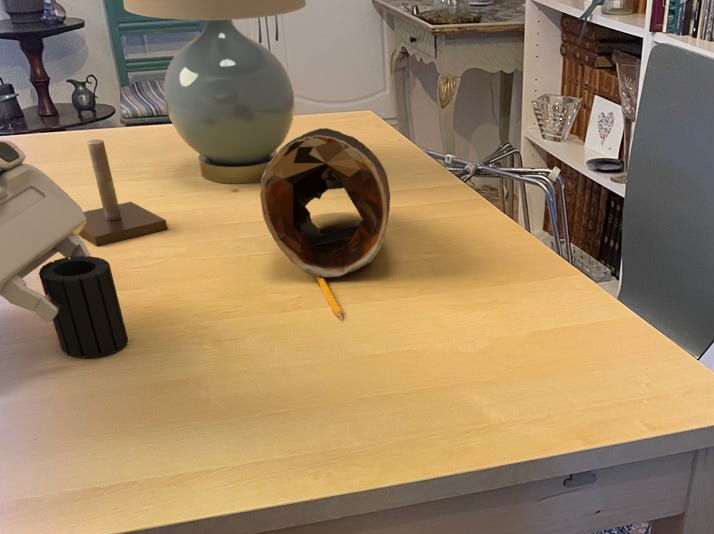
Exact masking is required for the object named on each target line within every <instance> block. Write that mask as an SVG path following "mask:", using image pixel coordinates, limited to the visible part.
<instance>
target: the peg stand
mask: <svg viewBox="0 0 714 534" xmlns="http://www.w3.org/2000/svg"><path fill="white" fill-rule="evenodd" d="M86 144H87V148H88V152H89V156H90V160H91V164H92V168H93V174H94V177H95V182H96V185H97V189H98V193H99V198H100V201H101V205H102V207H101V208H96V209H90V210H87V211H83V213H84V215H85V217H86V220H87V222H86V224H85V226H84V227H83V229H82V230H81V232H80V233H79V234H78V236H80V237H81V238H83V239H85V240H86V241H89V243H91V244H93V245H94V246H96V247H100V246H104V245H108V244H112V243H115V242H120V241H125V240H129V239H133V238H137V237H141V236H145V235H149V234H153V233H158V232H162V231H165V230H168V224H167V219H165V218H163V217H161V216H159V215H157V214H155V213H153V212H152V211H150V210H148V209H146V208H144V207H142V206H140V205H138V204H136V203H134V202H133V201H126V202H123V203H119V201H118V198H117V192H116V189H115V184H114V180H113V176H112V172H111V166H110V163H109V158H108V154H107V150H106V145H105V141H104V140H103V139H99V138H98V139H89V140H88V141H87V142H86Z"/></svg>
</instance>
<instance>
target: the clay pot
mask: <svg viewBox="0 0 714 534" xmlns="http://www.w3.org/2000/svg"><path fill="white" fill-rule="evenodd" d="M389 184H390V183H389V179H388V174H387V172H386V170H385V168H384V166H383V164H382V163H381V161H380V160H379V158H378V157H377V155H376V154H374V153H373V151H372V150H371V149H370V148H369V147H368V146H366V145H365V144H364V143H363V142H362V141H359V140H358V139H357V138H356V137H354V136H352V135H348V134H344V133H343V132H341V131H339V130H336V129H335V130H334V129H331V128H327V127H325V128H317V129H314V130H311V131H308V132H306V133H304V134H302V135H300V136H298V137H296V138H294V139H292V140H291V141H289V142H287V143H286V144H285V145H283V146H282V147H281V148H280V149H279V150H278V151H277V154H276V155H275V156H274V157H273V159H272V160H271V161H270V163H269V164H268V165H267V167H266V169H265V171H264V174H263V176H262V179H261V181H260V193H259V197H260V205H261V210H262V211H261V212H262V216H263V220H264V223H265V225H266V227H267V229H268V231H269V234H270V235H271V237H272V238H273V240H274V242H275V243H276V245H277V247H278V248H279V249H280V250H281V251H282V252H283V253H284V255H285V256H286V257H287V258H288V259H289V260H290V261H291V262H292V263H293V264H294V265H295V267H296V268H298V269H299V270H300V271H303V272H304V273H306V274H309V275H315V276H316V275H317V276H322V277H323V278H338V277H342V276H345V275H346V274H349V273H352V272H354V271H357V270H359V269H360V268H362V267H364V266H367V265H370V264H372V262H373V261H374V259H375V257H376V256H377V254H378V252H379V251H380V250H381V248H382V246H383V243H384V239H385V235H386V230H387V226H388V221H389V217H390V206H391V190H390V185H389ZM340 189H344V191H345V193H346V194H347V196H348V197H349V199H350V201H351V203H352V204H353V206H354V208H355V209H356V211H357V212H358V214H359V216H360V218H361V219H362V220H361V221H360V223H359V224H357V225H353V226H349V227H345V228H342V229H338V230H333V231H330V232H326V233H322V234H321V233H320V228H319V227H318V226H317V225H316V224H315V223H313V220H312V218H311V212H310V211H309V210H308V208H307V205H309V204H310V202H312V201H313V200H314V199H317V200H321V198H322V196H323V194H324V193H326V192H327V191H328V190H340ZM350 238H351V240H350V241H349V242H348V243H347V244H344V245H343V246H342V247H340V248H337V249H334V250H332V251H329V252H327V253H323V252H321V251H320V250H319V249H317V248H316V247H315V246H321V245H324V244H329V243H333V242H337V241H341V240H346V239H350Z"/></svg>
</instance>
